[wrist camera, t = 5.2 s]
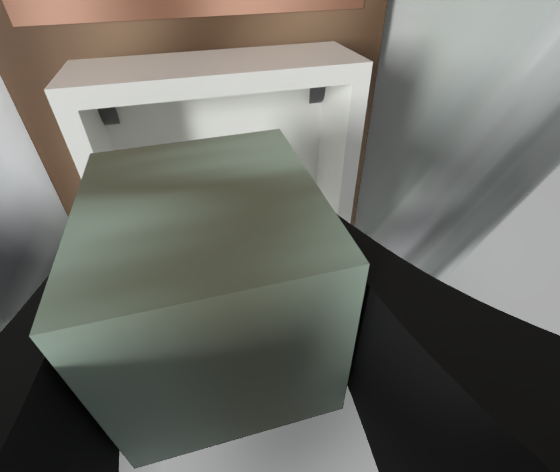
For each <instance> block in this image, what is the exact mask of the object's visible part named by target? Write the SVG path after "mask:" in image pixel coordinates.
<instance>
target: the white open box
mask: <svg viewBox="0 0 560 472" xmlns="http://www.w3.org/2000/svg"><path fill="white" fill-rule="evenodd" d="M372 66H373V61H371V60H369V59H367V58H365V57H363V56H361V55H359V54H358V53H356V52H354V51H352V50H350V49H348V48H346V47H344V46H342V45H341V44H339V43H337V42H335V41H329V42H315V43H301V44H287V45H273V46H259V47H245V48H230V49H216V50H202V51H188V52H174V53H160V54H146V55H132V56H118V57H104V58H90V59H76V60H67V62H66V63H65V64H64V65H63V67H62V68H61V69H60V70H59V71H58V73H57V74H56V75H55V76H54V78H53V79H52V80H51V81H50V83H49V84H48V85H47V86H46V88H45V89H44V91H45V94H46V96H47V99H48V101H49V103H50V106H51V108H52V111H53V113H54V115H55V118H56V120H57V123H58V125H59V127H60V130H61V132H62V135H63V137H64V139H65V142H66V144H67V147H68V149H69V151H70V154H71V156H72V159H73V161H74V163H75V166H76V168H77V171H78V173H79V175H80V178H81V179H82V176H83V173H84V170H85V167H86V164H87V161H88V158H89V155H90V153H98V152H105V151H113V150H121V149H128V148H136V147H144V146H151V145H159V144H166V143H174V142H182V141H189V140H197V139H205V138H212V137H220V136H228V135H235V134H243V133H251V132H258V131H266V130H273V129H280V130H281V132H282V133H283V135H284V136H285V138H286V139H287V141H288V142H289V144H290V145H291V147H292V148H293V150H294V151H295V153H296V154H297V156H298V157H299V159H300V160H301V162H302V163H303V165H304V166H305V168H306V169H307V171H308V172H309V174H310V175H311V177H312V178H313V180H314V181H315V183H316V184H317V186H318V187H319V189H320V190H321V192H322V193H323V195H324V196H325V198H326V199H327V201H328V202H329V204H330V205H331V207H332V208H333V210H334V211H335V213H336V214H338V215H339V216H340V217H342V218H343V219H344V220H346V221H347V222H349V223H350V222H351V215H352V208H353V201H354V194H355V187H356V179H357V172H358V165H359V158H360V151H361V144H362V137H363V130H364V123H365V116H366V108H367V101H368V94H369V87H370V80H371V73H372Z"/></svg>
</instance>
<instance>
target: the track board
mask: <svg viewBox="0 0 560 472" xmlns="http://www.w3.org/2000/svg"><path fill="white" fill-rule="evenodd" d="M387 1H388V0H0V75H1V77H2V79H3V82H4V84H5V86H6V88H7V90H8V92H9V94H10V96H11V98H12V100H13V102H14V105H15V107H16V109H17V111H18V113H19V115H20V117H21V119H22V121H23V123H24V125H25V127H26V130H27V132H28V134H29V136H30V138H31V140H32V142H33V144H34V146H35V148H36V150H37V152H38V155H39V157H40V159H41V161H42V163H43V165H44V167H45V169H46V171H47V173H48V175H49V178H50V180H51V182H52V184H53V186H54V188H55V190H56V192H57V194H58V196H59V198H60V200H61V203H62V205H63V207H64V209H65V211H66V213H67V215H68V217H69V215H70V212H71V209H72V206H73V203H74V200H75V197H76V194H77V191H78V188H79V185H80V182H81V178H80V175H79V173H78V171H77V168H76V166H75V163H74V161H73V159H72V156H71V154H70V151H69V149H68V147H67V144H66V142H65V139H64V137H63V135H62V132H61V130H60V127H59V125H58V123H57V120H56V118H55V115H54V113H53V111H52V108H51V106H50V103H49V101H48V99H47V96H46V94H45V91H44V89H45V88H46V86H47V85H48V84H49V83H50V81H51V80H52V79H53V78H54V76H55V75H56V74H57V73H58V71H59V70H60V69H61V68H62V67H63V65H64V64H65V63H66V62H67V60H76V59H90V58H104V57H118V56H132V55H146V54H160V53H174V52H188V51H202V50H216V49H230V48H245V47H259V46H273V45H287V44H301V43H315V42H329V41H335V42H337V43H339V44H341V45H342V46H344V47H346V48H348V49H350V50H352V51H354V52H356V53H358V54H359V55H361V56H363V57H365V58H367V59H369V60H371V61H373V66H372V73H371V80H370V87H369V94H368V101H367V108H366V116H365V123H364V130H363V137H362V144H361V151H360V158H359V165H358V172H357V179H356V187H355V194H354V201H353V208H352V215H351V222H350V224H351V225H353V226H354V221H355V215H356V208H357V201H358V195H359V188H360V181H361V175H362V168H363V161H364V155H365V148H366V141H367V135H368V128H369V121H370V114H371V108H372V101H373V94H374V88H375V81H376V74H377V68H378V61H379V54H380V48H381V41H382V34H383V28H384V21H385V14H386V7H387Z"/></svg>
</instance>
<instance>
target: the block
mask: <svg viewBox="0 0 560 472" xmlns="http://www.w3.org/2000/svg"><path fill="white" fill-rule="evenodd" d="M369 265H370V264H369V262H368V261H367V259H366V258H365V256H364V255H363V253H362V252H361V250H360V249H359V247H358V246H357V244H356V243H355V241H354V240H353V238H352V237H351V235H350V234H349V232H348V231H347V229H346V228H345V226H344V225H343V223H342V222H341V220H340V219H339V217H338V216H337V214H336V213H335V211H334V210H333V208H332V207H331V205H330V204H329V202H328V201H327V199H326V198H325V196H324V195H323V193H322V192H321V190H320V189H319V187H318V186H317V184H316V183H315V181H314V180H313V178H312V177H311V175H310V174H309V172H308V171H307V169H306V168H305V166H304V165H303V163H302V162H301V160H300V159H299V157H298V156H297V154H296V153H295V151H294V150H293V148H292V147H291V145H290V144H289V142H288V141H287V139H286V138H285V136H284V135H283V133H282V132H281V130H280V129H273V130H266V131H258V132H251V133H243V134H235V135H228V136H220V137H212V138H205V139H197V140H189V141H182V142H174V143H166V144H159V145H151V146H144V147H136V148H128V149H121V150H113V151H105V152H98V153H90V155H89V158H88V161H87V164H86V167H85V170H84V173H83V176H82V179H81V182H80V185H79V188H78V191H77V194H76V197H75V200H74V203H73V206H72V209H71V212H70V215H69V218H68V221H67V224H66V227H65V230H64V233H63V236H62V239H61V242H60V245H59V248H58V251H57V254H56V257H55V260H54V263H53V266H52V269H51V272H50V275H49V278H48V281H47V284H46V287H45V290H44V293H43V296H42V299H41V302H40V305H39V308H38V311H37V314H36V317H35V320H34V323H33V326H32V329H31V332H30V335H29V337H30V338H31V339H32V341H33V342H34V343H35V344H36V346H37V347H38V348H39V350H40V351H41V352H42V353H43V355H44V356H45V357H46V358H47V360H48V361H49V362H50V363H51V365H52V366H53V367H54V368H55V370H56V371H57V372H58V373H59V375H60V376H61V377H62V378H63V380H64V381H65V382H66V383H67V385H68V386H69V387H70V388H71V390H72V391H73V392H74V393H75V395H76V396H77V397H78V398H79V400H80V401H81V402H82V404H83V405H84V406H85V407H86V409H87V410H88V411H89V412H90V414H91V415H92V416H93V417H94V419H95V420H96V421H97V422H98V424H99V425H100V426H101V427H102V429H103V430H104V431H105V432H106V434H107V435H108V436H109V437H110V439H111V440H112V441H113V442H114V444H115V445H116V446H117V447H118V449H119V450H120V451H121V452H122V454H123V455H124V456H125V457H126V459H127V460H128V461H129V463H130V464H131V465H132V466H133V467H134V468H138V467H142V466H145V465H149V464H152V463H156V462H159V461H163V460H166V459H170V458H173V457H177V456H180V455H183V454H187V453H191V452H194V451H197V450H201V449H204V448H208V447H211V446H214V445H218V444H222V443H225V442H228V441H232V440H235V439H239V438H243V437H246V436H249V435H253V434H256V433H260V432H263V431H266V430H270V429H274V428H277V427H281V426H284V425H288V424H291V423H295V422H298V421H301V420H305V419H308V418H312V417H315V416H319V415H322V414H326V413H329V412H332V411H336V410H339V409H342V408H343V405H344V399H345V394H346V388H347V383H348V378H349V372H350V367H351V362H352V356H353V351H354V345H355V340H356V335H357V329H358V324H359V319H360V313H361V308H362V302H363V297H364V292H365V286H366V281H367V276H368V270H369Z"/></svg>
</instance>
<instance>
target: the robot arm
mask: <svg viewBox="0 0 560 472" xmlns="http://www.w3.org/2000/svg"><path fill="white" fill-rule="evenodd" d="M337 216H338V217H339V219H340V220H341V222H342V223H343V225H344V226H345V228H346V229H347V231H348V232H349V234H350V235H351V237H352V238H353V240H354V241H355V243H356V244H357V246H358V247H359V249H360V250H361V252H362V253H363V255H364V256H365V258H366V259H367V261H368V262H369V264H370V265H369V270H368V276H367V281H366V286H365V292H364V297H363V302H362V308H361V313H360V319H359V324H358V329H357V335H356V340H355V345H354V351H353V356H352V362H351V367H350V372H349V378H348V383H347V386H348V388H349V390H350V393H351V395H352V398H353V401H354V404H355V406H356V409H357V412H358V414H359V417H360V420H361V423H362V425H363V428H364V431H365V433H366V437H367V439H368V442H369V445H370V448H371V451H372V454H373V457H374V459H375V462H376V465H377V468H378V471H379V472H560V336H559V335H557V334H554V333H552V332H549V331H547V330H544V329H542V328H539V327H537V326H534V325H532V324H530V323H528V322H525V321H523V320H521V319H518V318H516V317H514V316H511V315H509V314H507V313H504V312H502V311H500V310H497V309H495V308H493V307H491V306H489V305H487V304H485V303H483V302H480V301H478V300H476V299H474V298H472V297H470V296H468V295H466V294H464V293H462V292H461V291H459V290H457V289H455V288H453V287H451V286H449V285H447V284H445V283H443V282H441V281H439V280H438V279H436V278H434V277H432V276H430V275H429V274H427V273H425V272H423V271H422V270H420V269H418V268H417V267H415V266H413V265H412V264H410V263H408V262H407V261H405V260H403V259H402V258H400V257H399V256H397V255H396V254H394V253H392V252H391V251H389V250H388V249H386V248H385V247H383V246H382V245H380V244H379V243H377V242H376V241H374V240H373V239H371V238H370V237H368V236H367V235H366V234H364V233H363V232H361V231H360V230H358V229H357V228H356V227H354V226H353V225H351V224H350V223H349V222H347V221H346V220H344V219H343V218H342V217H340V216H339V215H338V214H337ZM48 278H49V276H48V277H47V278H46V280H45V281H44V282H43V283H42V285H41V286H40V287H39V288H38V289H37V291H36V292H35V293H34V294H33V295H32V296H31V298H30V299H29V300H28V301H27V302H26V304H25V305H24V306H23V307H22V308H21V310H20V311H19V312H18V313H17V314H16V316H15V317H14V318H13V319H12V320H11V321H10V322H9V324H8V325H7V326H6V327H5V328H4V329H3V330H2V331H1V332H0V472H119V449H118V447H117V446H116V445H115V444H114V442H113V441H112V440H111V439H110V437H109V436H108V435H107V434H106V432H105V431H104V430H103V429H102V427H101V426H100V425H99V424H98V422H97V421H96V420H95V419H94V417H93V416H92V415H91V414H90V412H89V411H88V410H87V409H86V407H85V406H84V405H83V404H82V402H81V401H80V400H79V398H78V397H77V396H76V395H75V393H74V392H73V391H72V390H71V388H70V387H69V386H68V385H67V383H66V382H65V381H64V380H63V378H62V377H61V376H60V375H59V373H58V372H57V371H56V370H55V368H54V367H53V366H52V365H51V363H50V362H49V361H48V360H47V358H46V357H45V356H44V355H43V353H42V352H41V351H40V350H39V348H38V347H37V346H36V344H35V343H34V342H33V341H32V339H31V338H30V337H29V335H30V332H31V329H32V326H33V323H34V320H35V317H36V314H37V311H38V308H39V305H40V302H41V299H42V296H43V293H44V290H45V287H46V284H47V281H48Z"/></svg>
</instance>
